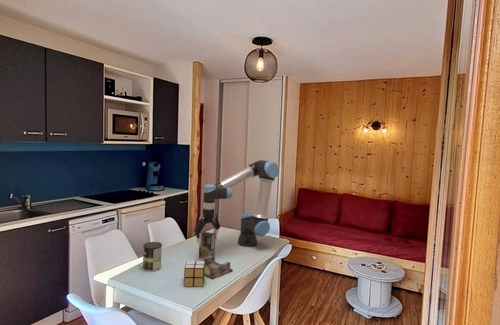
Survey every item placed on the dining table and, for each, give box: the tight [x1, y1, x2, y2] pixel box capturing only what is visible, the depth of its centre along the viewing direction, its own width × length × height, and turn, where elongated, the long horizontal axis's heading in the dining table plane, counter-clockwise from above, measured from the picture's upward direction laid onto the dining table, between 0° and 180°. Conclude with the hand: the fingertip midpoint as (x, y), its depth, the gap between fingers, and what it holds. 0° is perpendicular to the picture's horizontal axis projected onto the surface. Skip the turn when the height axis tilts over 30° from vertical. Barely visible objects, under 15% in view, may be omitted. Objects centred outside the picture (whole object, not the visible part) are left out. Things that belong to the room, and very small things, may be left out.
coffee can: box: [142, 241, 163, 273], centre depth 171 cm, size 10×10×14 cm
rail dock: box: [196, 255, 234, 281], centre depth 172 cm, size 16×18×5 cm
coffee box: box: [198, 231, 217, 260], centre depth 191 cm, size 9×6×16 cm
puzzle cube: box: [183, 260, 206, 288], centre depth 156 cm, size 10×10×10 cm
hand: (207, 240), depth 191 cm, fingers open, 13 cm apart
